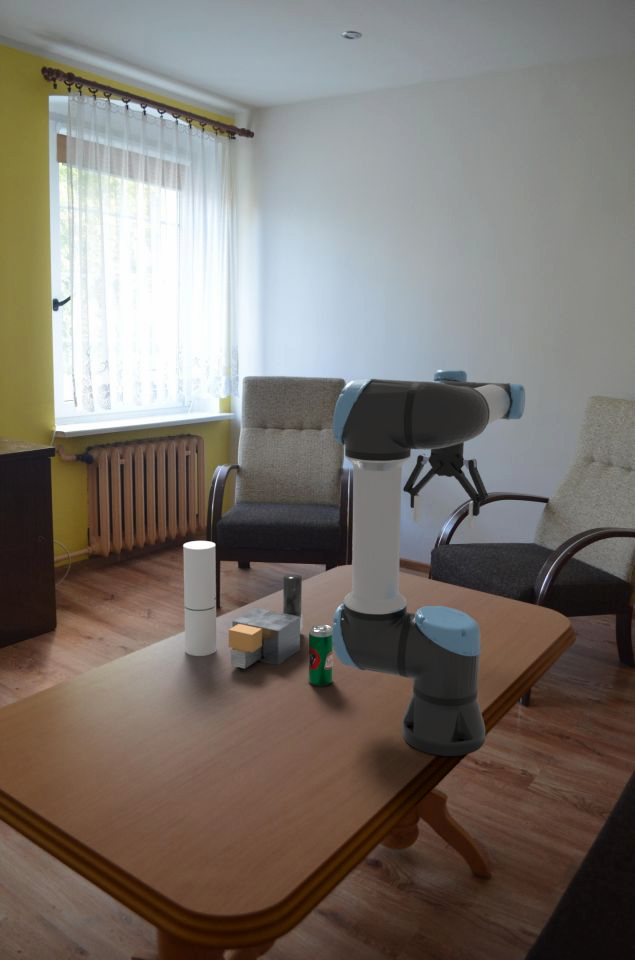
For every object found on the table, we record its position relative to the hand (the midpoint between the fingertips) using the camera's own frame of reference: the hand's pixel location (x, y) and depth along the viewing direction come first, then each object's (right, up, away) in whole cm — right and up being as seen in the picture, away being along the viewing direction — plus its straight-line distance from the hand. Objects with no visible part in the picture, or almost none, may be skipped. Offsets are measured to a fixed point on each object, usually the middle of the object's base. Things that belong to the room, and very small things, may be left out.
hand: (443, 525), depth 190 cm
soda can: (-29, -32, -21) cm, 48 cm away
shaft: (-41, -28, -6) cm, 50 cm away
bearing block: (-42, -29, -6) cm, 51 cm away
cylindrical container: (-57, -29, -6) cm, 64 cm away
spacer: (-46, -26, -15) cm, 55 cm away
